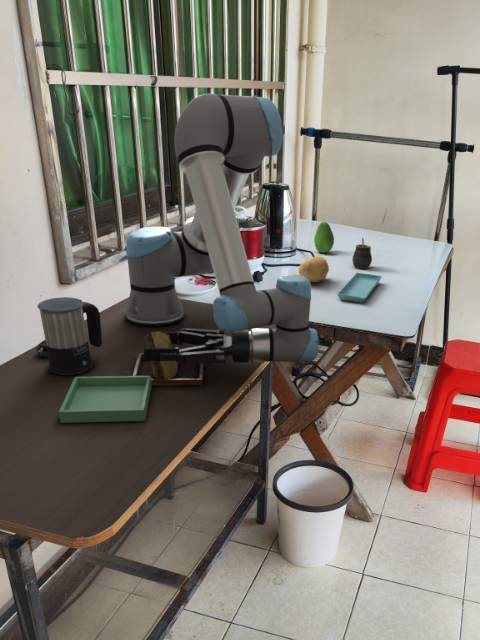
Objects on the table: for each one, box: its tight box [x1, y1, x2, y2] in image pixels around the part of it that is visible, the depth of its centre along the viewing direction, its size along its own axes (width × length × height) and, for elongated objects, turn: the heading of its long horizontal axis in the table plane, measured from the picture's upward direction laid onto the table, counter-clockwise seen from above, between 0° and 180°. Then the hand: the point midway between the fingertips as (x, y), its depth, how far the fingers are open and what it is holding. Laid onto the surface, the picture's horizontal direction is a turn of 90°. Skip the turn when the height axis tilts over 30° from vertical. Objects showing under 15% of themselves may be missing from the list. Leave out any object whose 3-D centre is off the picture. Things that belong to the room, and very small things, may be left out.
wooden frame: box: [132, 352, 204, 387], centre depth 133 cm, size 15×15×1 cm
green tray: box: [58, 375, 153, 424], centre depth 118 cm, size 15×15×2 cm
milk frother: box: [36, 296, 103, 376], centre depth 131 cm, size 14×16×15 cm
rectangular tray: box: [337, 272, 383, 304], centre depth 195 cm, size 26×9×2 cm, turn 163°
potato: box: [298, 255, 330, 283], centre depth 201 cm, size 10×14×8 cm
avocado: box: [314, 221, 335, 254], centre depth 235 cm, size 8×8×12 cm
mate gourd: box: [351, 237, 373, 270], centre depth 220 cm, size 7×8×10 cm
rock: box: [145, 331, 179, 379], centre depth 132 cm, size 11×9×10 cm
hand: (146, 346), depth 129 cm, fingers closed on rock, 9 cm apart
